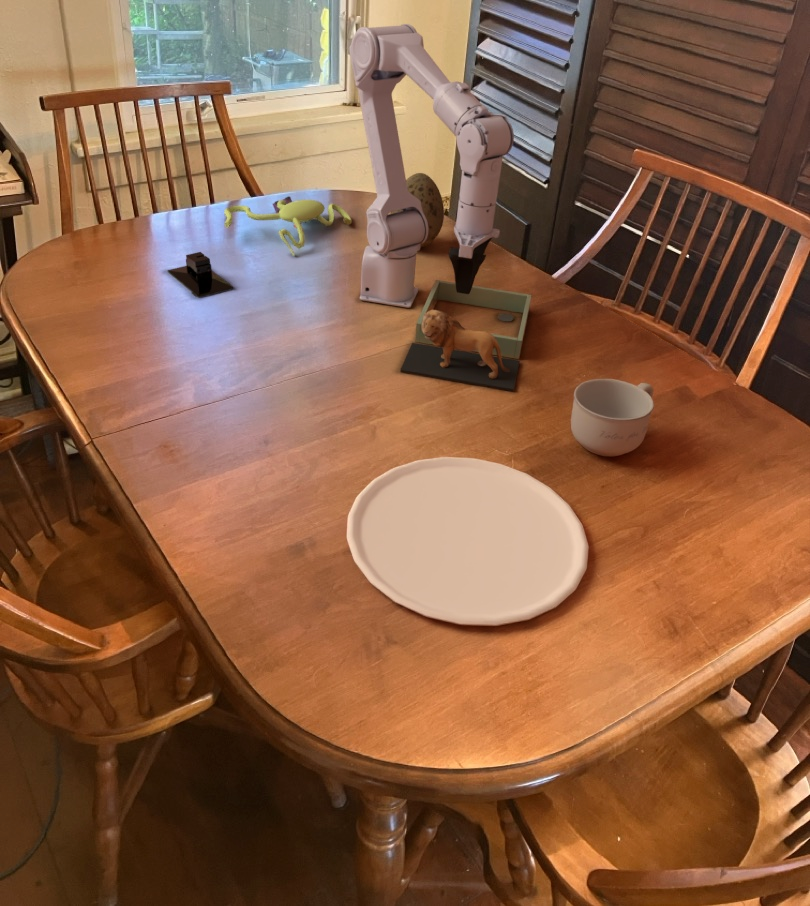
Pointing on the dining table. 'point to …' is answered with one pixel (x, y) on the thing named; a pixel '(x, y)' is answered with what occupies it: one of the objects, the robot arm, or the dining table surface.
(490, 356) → the lion figurine
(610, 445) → the teacup
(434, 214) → the decorative egg
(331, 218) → the figurine
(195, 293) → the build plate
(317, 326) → the dining table surface
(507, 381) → the mat
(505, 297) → the green square tray
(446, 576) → the plate
